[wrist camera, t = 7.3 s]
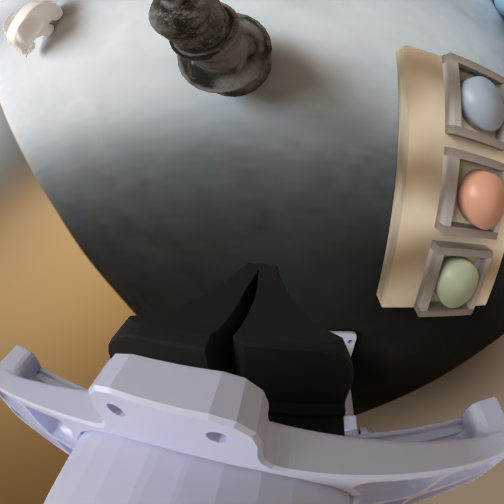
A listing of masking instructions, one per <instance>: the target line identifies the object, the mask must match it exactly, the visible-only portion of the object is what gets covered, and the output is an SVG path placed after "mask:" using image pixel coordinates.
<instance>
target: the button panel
mask: <svg viewBox="0 0 504 504" xmlns="http://www.w3.org/2000/svg"><path fill="white" fill-rule="evenodd" d="M396 55H397V68H398V86H399V139H398V158H397V171H396V183H395V192H394V201H393V209H392V216H391V223H390V229H389V235H388V241H387V247H386V252H385V257H384V262H383V267H382V272H381V277H380V281H379V285H378V290H377V297H378V299H379V301H380V304H381V306H382V307H414V309H415V311H416V313H417V315H418V317H436V316H458V315H471V314H472V312H473V310H474V307H475V306H477V305H486V303H487V300H488V298H489V295H490V292H491V290H492V287H493V284H494V281H495V279H496V276H497V273H498V269H499V266H500V263H501V260H502V256H503V253H504V213H503V216H502V218H501V220H500V221H499V222H498V224H497V225H496V226H494V227H493V228H491V229H488V230H483V229H480V228H478V227H477V226H475V225H473V224H472V223H470V222H469V221H467V220H466V219H465V218H464V217H463V216H462V214H461V213H460V210H459V207H458V201H457V195H458V188H459V185H460V182H461V180H462V179H463V177H464V176H465V175H466V174H467V173H468V172H469V171H471V170H474V169H480V170H483V171H486V172H490V173H493V174H495V175H497V176H498V177H499V178H500V179H501V181H502V182H503V185H504V121H503V123H502V125H501V127H500V128H499V129H497V130H495V131H489V130H477V129H474V128H473V127H471V126H470V125H468V124H467V123H466V121H465V120H464V119H463V117H462V116H461V89H460V82H461V81H462V80H464V79H467V78H472V77H476V76H482V77H485V78H487V79H488V80H490V81H491V82H492V83H493V84H494V85H495V87H496V88H497V89H498V91H499V93H500V95H501V97H502V100H503V104H504V77H502V76H500V75H498V74H496V73H495V72H493V71H491V70H489V69H487V68H485V67H483V66H481V65H479V64H476V63H474V62H472V61H470V60H467V59H465V58H463V57H460V56H458V55H456V54H453V53H448V54H446V55H443V56H439V55H436V54H433V53H430V52H427V51H423V50H420V49H417V48H413V47H410V46H406V45H405V46H404V47H403V48H401V49H400V50H399V51H397V52H396ZM449 256H462V257H465V258H466V259H467V260H468V261H469V262H470V263H472V264H473V265H474V266H475V267H476V269H477V271H478V275H479V279H478V285H477V288H476V290H475V292H474V294H473V295H472V296H471V298H470V299H469V300H468V301H467V302H466V303H464V304H463V305H461V306H459V307H456V308H448V307H446V306H444V305H443V303H442V302H441V301H440V299H439V298H438V296H437V295H436V294H435V292H434V289H435V286H436V282H437V279H438V276H439V272H440V269H441V265H442V261H443V260H445V259H446V258H448V257H449Z"/></svg>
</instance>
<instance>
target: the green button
mask: <svg viewBox="0 0 504 504" xmlns="http://www.w3.org/2000/svg"><path fill="white" fill-rule="evenodd" d="M478 279H479V275H478V271H477V269H476V267H475V266H474V265H473V264H472V263H470V262H469V261H468V260H467V259H466V258H465V257H462V256H449V257H448V258H446V259H445V260H443V261H442V265H441V269H440V272H439V276H438V279H437V282H436V286H435V289H434V292H435V294H436V295H437V296H438V298H439V299H440V301H441V302H442V303H443V305H444V306H446V307H448V308H456V307H459V306H461V305H463V304H464V303H466V302H467V301H468V300H469V299H470V298H471V296H472V295H473V294H474V292H475V290H476V288H477V285H478Z"/></svg>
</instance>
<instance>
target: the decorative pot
mask: <svg viewBox="0 0 504 504" xmlns="http://www.w3.org/2000/svg"><path fill="white" fill-rule="evenodd" d="M493 1H494V3H495V6H496V8H497V10H498V11H499V12H500V13H501V14H502V15H503V16H504V0H493Z"/></svg>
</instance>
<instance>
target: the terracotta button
mask: <svg viewBox="0 0 504 504" xmlns="http://www.w3.org/2000/svg"><path fill="white" fill-rule="evenodd" d="M457 201H458V207H459V210H460V213H461V214H462V216H463V217H464V218H465V219H466V220H467V221H469V222H470V223H472V224H473V225H475V226H477V227H478V228H480V229H483V230H488V229H491V228H493V227H494V226H496V225H497V224H498V222H499V221H500V220H501V218H502V216H503V213H504V185H503V182H502V181H501V179H500V178H499V177H498V176H497V175H495V174H493V173H490V172H486V171H483V170H480V169H474V170H471V171H469V172H468V173H467V174H466V175H465V176H464V177H463V179H462V180H461V182H460V185H459V188H458V195H457Z"/></svg>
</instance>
